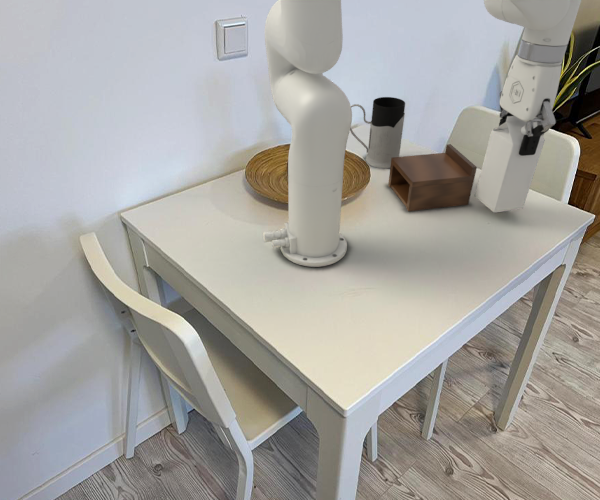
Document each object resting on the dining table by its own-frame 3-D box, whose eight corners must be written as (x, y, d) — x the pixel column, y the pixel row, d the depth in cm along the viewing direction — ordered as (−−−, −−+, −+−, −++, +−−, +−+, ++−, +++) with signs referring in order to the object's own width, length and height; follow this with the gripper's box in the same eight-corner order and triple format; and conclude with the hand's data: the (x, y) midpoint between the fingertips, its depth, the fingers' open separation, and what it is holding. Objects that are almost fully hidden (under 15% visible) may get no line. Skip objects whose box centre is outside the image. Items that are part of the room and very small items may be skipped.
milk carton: (474, 197, 109) (496, 110, 99) (502, 193, 111) (527, 107, 100) (493, 213, 104) (519, 123, 93) (523, 209, 106) (551, 120, 95)
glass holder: (398, 170, 125) (406, 110, 116) (341, 163, 127) (344, 104, 119) (401, 155, 132) (409, 97, 123) (347, 149, 134) (350, 92, 126)
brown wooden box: (408, 211, 109) (414, 173, 103) (388, 185, 118) (392, 149, 113) (468, 204, 111) (477, 167, 106) (443, 179, 121) (450, 144, 116)
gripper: (496, 41, 96) (475, 130, 106) (553, 66, 82) (522, 166, 93) (531, 40, 98) (507, 128, 108) (593, 65, 84) (558, 163, 94)
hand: (514, 145), depth 100 cm, fingers closed on milk carton, 7 cm apart
